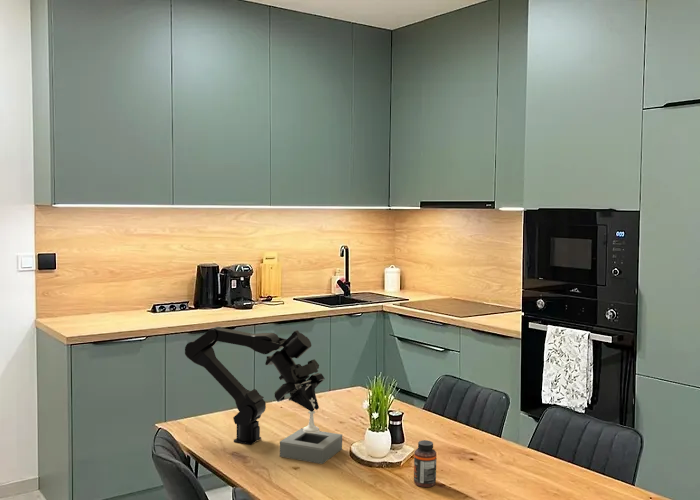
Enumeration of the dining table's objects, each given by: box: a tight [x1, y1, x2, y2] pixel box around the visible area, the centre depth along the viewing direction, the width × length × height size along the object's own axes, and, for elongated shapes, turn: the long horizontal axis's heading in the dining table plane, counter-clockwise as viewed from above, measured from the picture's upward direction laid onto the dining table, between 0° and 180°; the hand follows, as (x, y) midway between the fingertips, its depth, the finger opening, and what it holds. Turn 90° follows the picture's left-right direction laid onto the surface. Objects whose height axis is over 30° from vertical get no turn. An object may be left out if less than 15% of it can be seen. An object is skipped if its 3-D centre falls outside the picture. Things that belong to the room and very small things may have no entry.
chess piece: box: [303, 398, 320, 433], centre depth 209 cm, size 5×5×10 cm
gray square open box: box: [279, 427, 343, 465], centre depth 209 cm, size 14×14×4 cm
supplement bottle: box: [413, 439, 438, 488], centre depth 187 cm, size 6×6×11 cm
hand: (315, 409), depth 208 cm, fingers closed on chess piece
